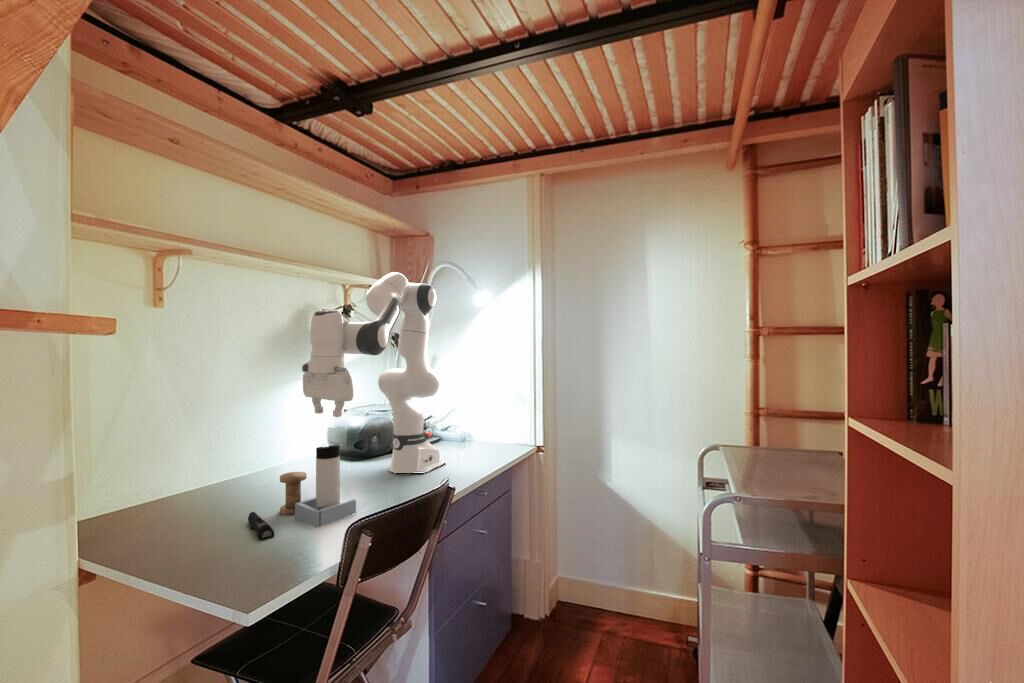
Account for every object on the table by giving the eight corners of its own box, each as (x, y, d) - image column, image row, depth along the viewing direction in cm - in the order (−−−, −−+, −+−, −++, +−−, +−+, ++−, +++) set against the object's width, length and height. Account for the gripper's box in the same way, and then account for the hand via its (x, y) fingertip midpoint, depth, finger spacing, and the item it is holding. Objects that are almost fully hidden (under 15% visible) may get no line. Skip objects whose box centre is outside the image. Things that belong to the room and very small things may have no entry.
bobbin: (298, 504, 135) (298, 470, 135) (311, 509, 131) (311, 474, 131) (275, 511, 129) (275, 475, 129) (287, 517, 125) (287, 480, 125)
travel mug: (319, 521, 123) (319, 448, 123) (313, 513, 128) (313, 444, 128) (342, 516, 126) (342, 445, 126) (336, 509, 132) (336, 441, 132)
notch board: (333, 505, 135) (333, 491, 135) (355, 513, 128) (356, 499, 128) (295, 517, 125) (295, 503, 125) (317, 527, 118) (317, 512, 118)
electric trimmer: (260, 520, 124) (260, 509, 124) (275, 538, 113) (275, 525, 113) (244, 524, 122) (244, 512, 122) (258, 542, 110) (258, 529, 110)
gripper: (358, 367, 123) (359, 417, 123) (318, 364, 135) (319, 410, 136) (338, 368, 118) (338, 420, 118) (298, 365, 130) (298, 412, 131)
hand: (327, 414), depth 127 cm, fingers open, 8 cm apart
